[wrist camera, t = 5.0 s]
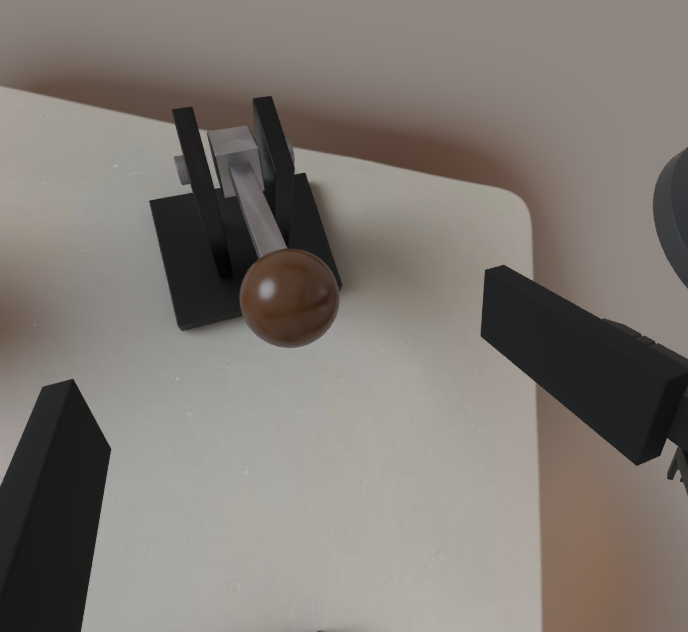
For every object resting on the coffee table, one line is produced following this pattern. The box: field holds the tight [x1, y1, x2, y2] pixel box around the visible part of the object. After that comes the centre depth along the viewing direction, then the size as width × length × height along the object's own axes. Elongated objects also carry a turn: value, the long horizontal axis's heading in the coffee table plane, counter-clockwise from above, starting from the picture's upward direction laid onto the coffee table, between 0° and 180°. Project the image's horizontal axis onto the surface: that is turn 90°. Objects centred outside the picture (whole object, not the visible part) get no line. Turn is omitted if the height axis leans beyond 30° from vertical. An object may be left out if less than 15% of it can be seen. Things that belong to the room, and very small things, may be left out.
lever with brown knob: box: [207, 126, 339, 348], centre depth 19 cm, size 14×4×4 cm, turn 18°
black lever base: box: [149, 96, 342, 330], centre depth 27 cm, size 10×12×13 cm
